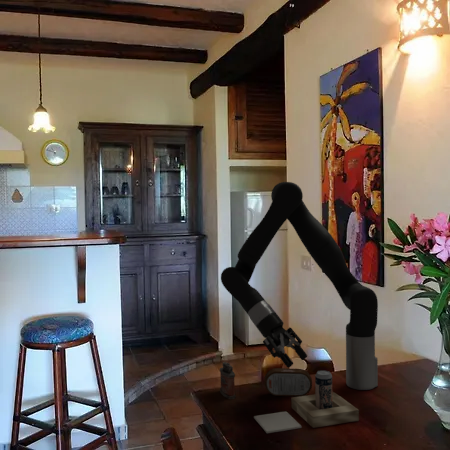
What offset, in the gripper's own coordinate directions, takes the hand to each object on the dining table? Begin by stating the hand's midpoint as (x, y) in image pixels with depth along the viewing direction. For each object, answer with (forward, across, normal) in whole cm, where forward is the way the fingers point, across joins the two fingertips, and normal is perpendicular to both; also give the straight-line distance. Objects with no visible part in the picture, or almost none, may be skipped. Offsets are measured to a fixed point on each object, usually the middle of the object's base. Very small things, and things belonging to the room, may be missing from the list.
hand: (298, 362), depth 145 cm
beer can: (+16, 0, +4) cm, 16 cm away
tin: (+5, +6, +15) cm, 17 cm away
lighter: (-7, -4, +26) cm, 27 cm away
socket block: (+15, 0, +4) cm, 16 cm away
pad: (+10, -13, +9) cm, 19 cm away
